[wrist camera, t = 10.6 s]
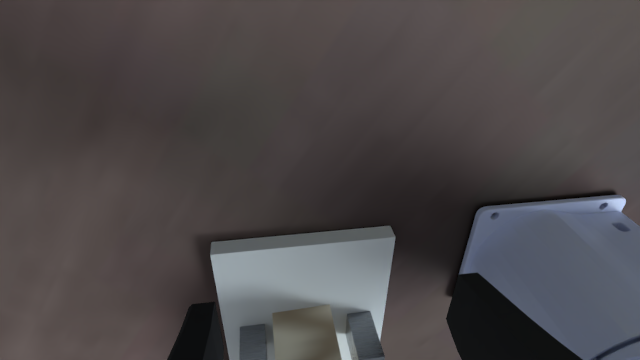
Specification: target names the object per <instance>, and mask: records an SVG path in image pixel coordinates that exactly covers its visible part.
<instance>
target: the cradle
mask: <svg viewBox="0 0 640 360" xmlns="http://www.w3.org/2000/svg"><path fill="white" fill-rule="evenodd" d="M395 238H396V237H395V235H394V233H393V230H392V228H391V226H380V227H369V228H359V229H348V230H337V231H326V232H315V233H304V234H293V235H282V236H272V237H261V238H250V239H239V240H228V241H217V242H211V252H210V257H211V262H212V268H213V273H214V279H215V284H216V289H217V295H218V300H219V306H220V311H221V317H222V322H223V328H224V333H225V338H226V344H227V349H228V355H229V360H275V349H274V334H273V320H272V313H276V312H282V311H289V310H296V309H302V308H309V307H316V306H322V305H329V304H330V308H331V313H332V317H333V322H334V326H335V331H336V335H337V340H338V345H339V349H340V354H341V358H342V360H384V358H385V356H384V353H383V350H382V347H381V343H380V337H381V330H382V324H383V317H384V311H385V304H386V297H387V291H388V284H389V278H390V271H391V264H392V258H393V251H394V244H395Z"/></svg>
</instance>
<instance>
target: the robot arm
mask: <svg viewBox="0 0 640 360" xmlns="http://www.w3.org/2000/svg"><path fill="white" fill-rule="evenodd" d="M625 203H626V199H625V198H623V197H622V196H621V195H608V196H597V197H585V198H574V199H563V200H551V201H540V202H529V203H517V204H506V205H495V206H485V207H482V208H480V209H479V210H478V211H477V213H476V215H475V219H474V222H473V226H472V229H471V233H470V236H469V240H468V243H467V247H466V250H465V254H464V258H463V261H462V265H461V268H460V272H459V275H458V279H457V282H456V286H455V289H454V293H453V296H452V300H451V303H450V307H449V311H448V314H447V318H446V320H447V323H448V326H449V328H450V331H451V334H452V337H453V340H454V342H455V345H456V348H457V350H458V353H459V355H460V357H461V359H462V360H640V226H638V225H637V224H636V223H635V222H633V221H632V220H631V219H630V218H628V217H627V216H626V215H624V214H623V213H622V212H621V211H622V209H623V207H624V205H625ZM493 213H495V214H493ZM492 214H493V215H492ZM223 354H224V347H223V342H222V336H221V331H220V326H219V321H218V316H217V310H216V305H215V302H209V303H200V304H192V305H191V306H190V307H189V309H188V311H187V314H186V317H185V320H184V322H183V325H182V327H181V330H180V332H179V335H178V337H177V339H176V342H175V344H174V346H173V348H172V350H171V353H170V355H169V357H168V359H167V360H223Z"/></svg>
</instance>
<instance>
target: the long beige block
mask: <svg viewBox="0 0 640 360" xmlns="http://www.w3.org/2000/svg"><path fill="white" fill-rule="evenodd" d="M272 320H273V334H274V349H275V360H342V358H341V354H340V349H339V345H338V340H337V335H336V331H335V326H334V322H333V317H332V313H331V308H330V304H329V305H322V306H316V307H309V308H302V309H296V310H289V311H282V312H276V313H272Z"/></svg>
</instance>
